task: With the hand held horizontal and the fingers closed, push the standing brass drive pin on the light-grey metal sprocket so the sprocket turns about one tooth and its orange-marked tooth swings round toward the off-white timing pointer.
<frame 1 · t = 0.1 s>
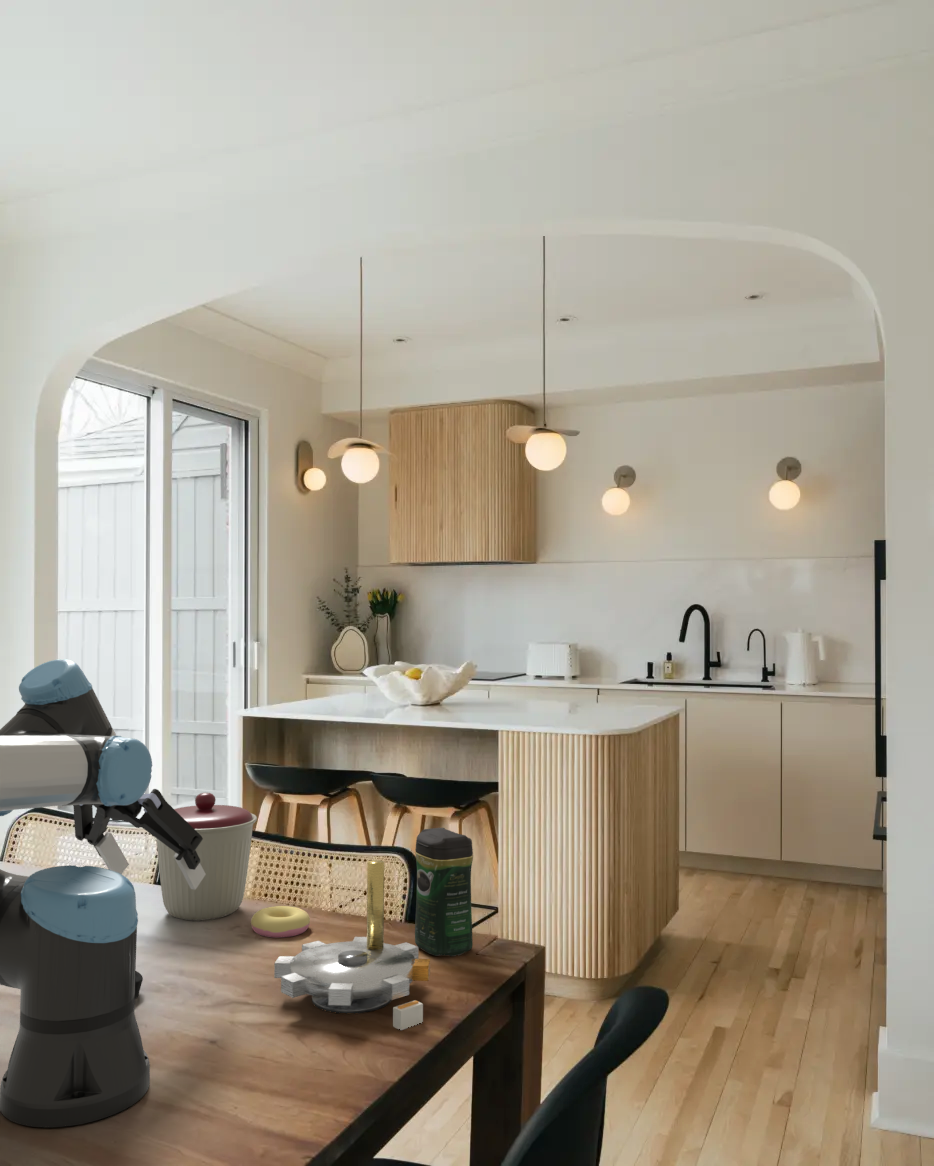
hand: (159, 876, 139), 15 cm above the table, tool tilted 35°, fingers open, 13 cm apart
sprocket: (353, 924, 135), point 10 cm above the table, hinge at 0.0°
pointer: (407, 1024, 126), on the table
coffee jar: (443, 949, 156), on the table
donut: (280, 932, 165), on the table
canister: (203, 913, 175), on the table
caster wheel: (95, 1001, 134), on the table
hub: (352, 998, 135), on the table
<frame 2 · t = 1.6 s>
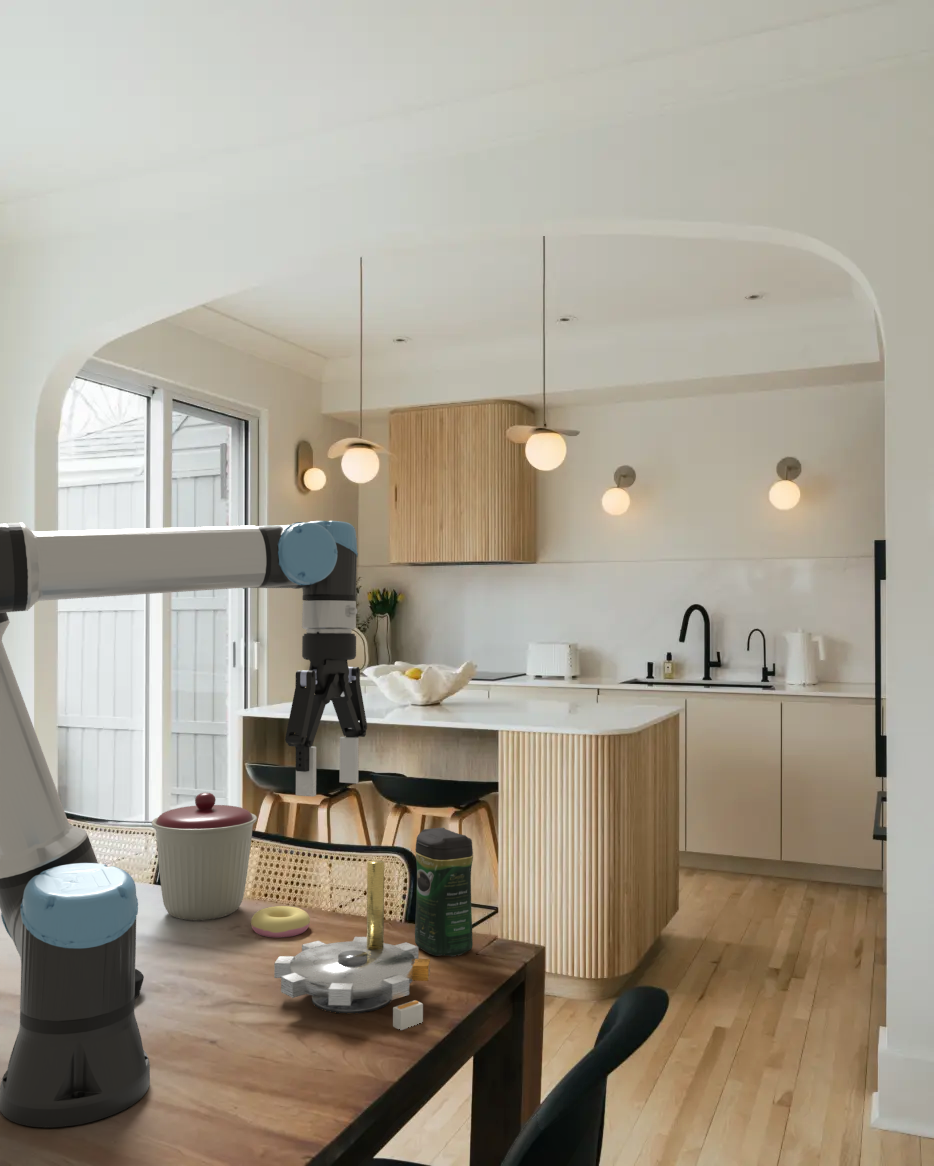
hand: (328, 788, 138), 28 cm above the table, tool pointing down, fingers open, 11 cm apart
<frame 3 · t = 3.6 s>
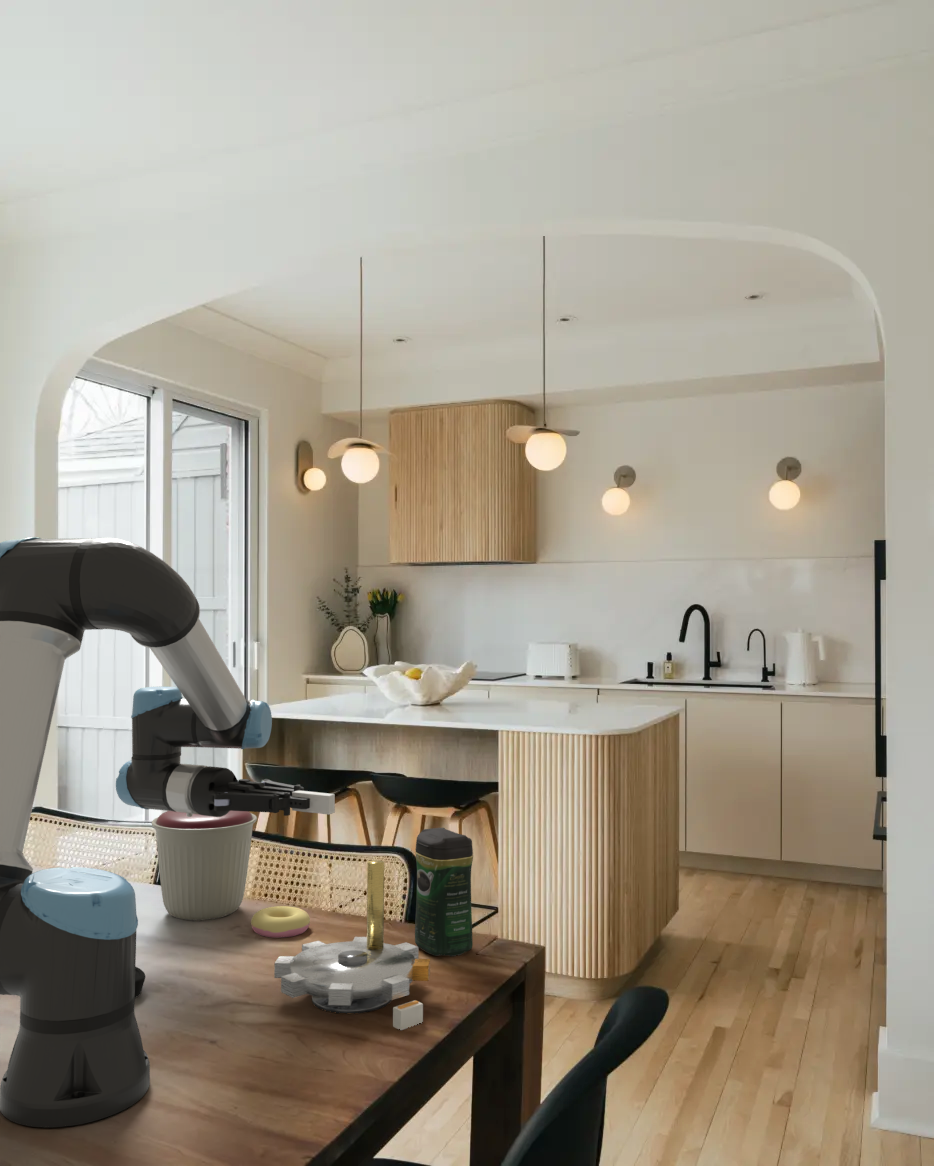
hand: (331, 804, 144), 25 cm above the table, tool horizontal, fingers closed
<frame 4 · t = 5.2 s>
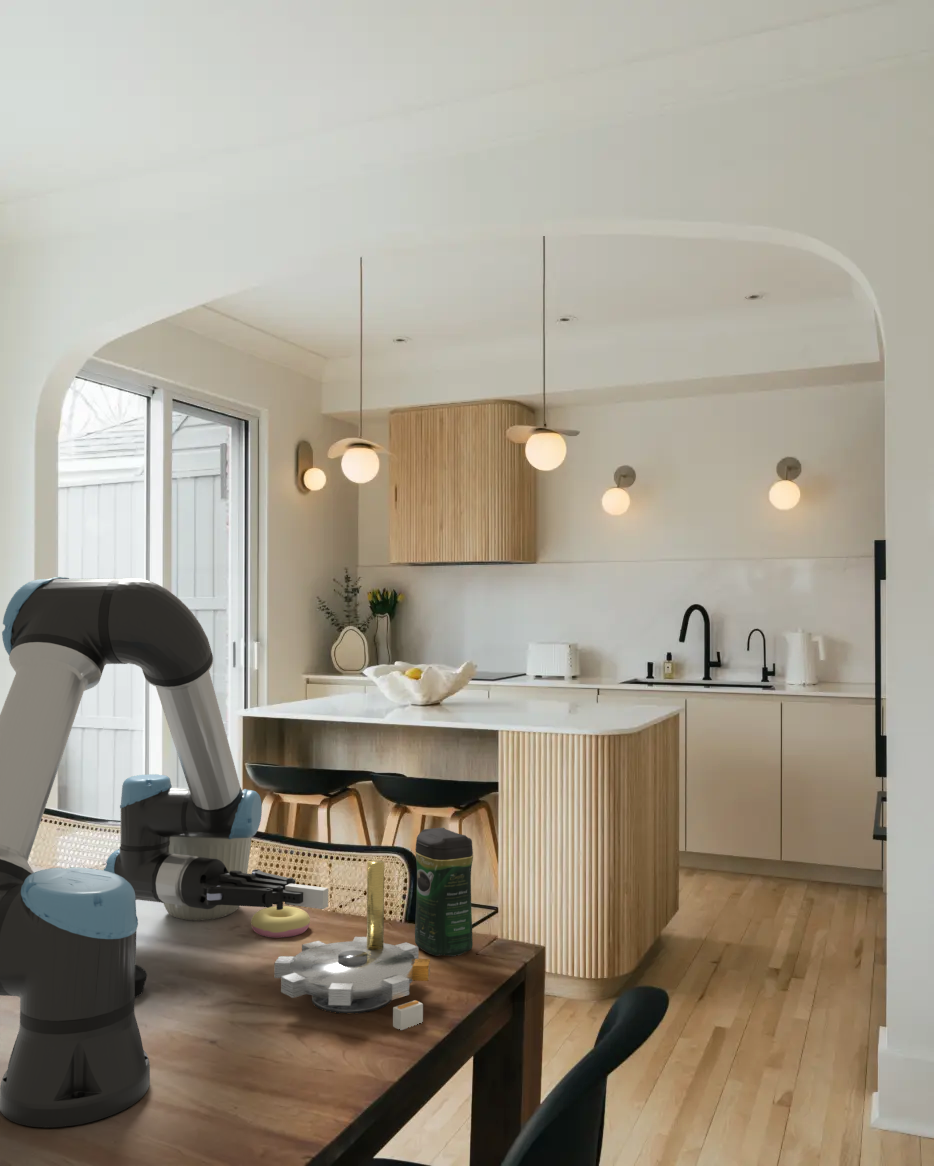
hand: (325, 898, 144), 11 cm above the table, tool horizontal, fingers closed
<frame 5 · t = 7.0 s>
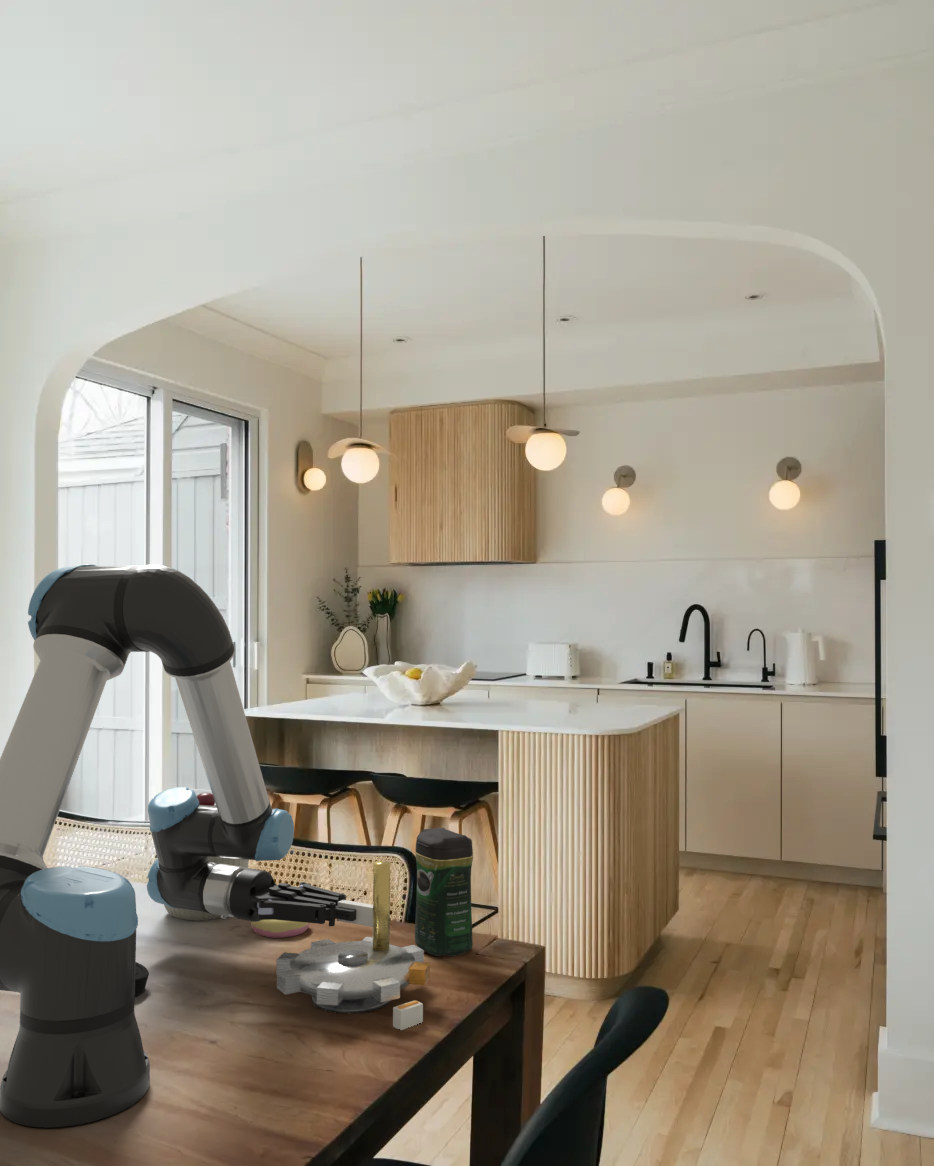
hand: (379, 916, 143), 9 cm above the table, tool horizontal, fingers closed
sprocket: (353, 924, 135), point 10 cm above the table, hinge at -8.8°, touching gripper
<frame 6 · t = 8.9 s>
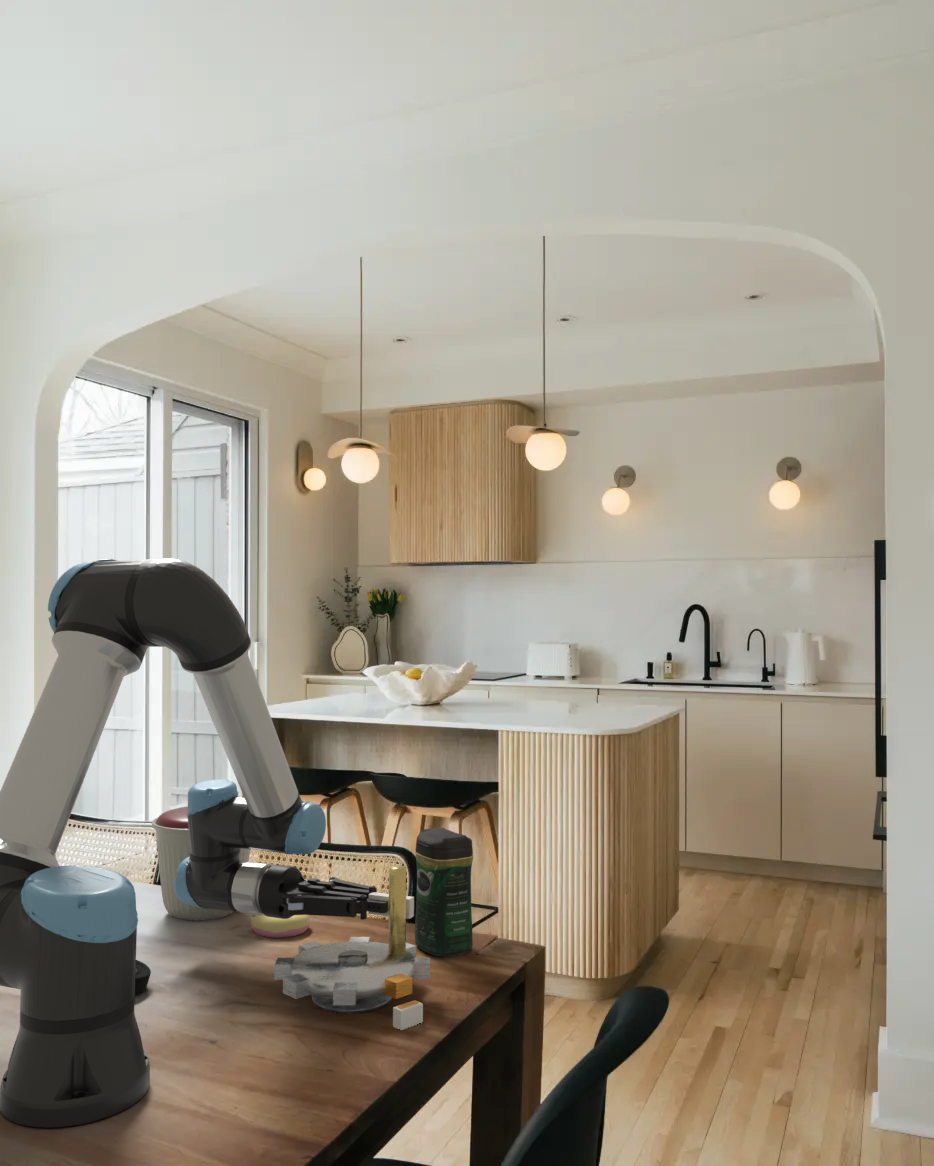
hand: (411, 907, 139), 11 cm above the table, tool horizontal, fingers closed
sprocket: (353, 924, 135), point 10 cm above the table, hinge at -41.7°, touching gripper
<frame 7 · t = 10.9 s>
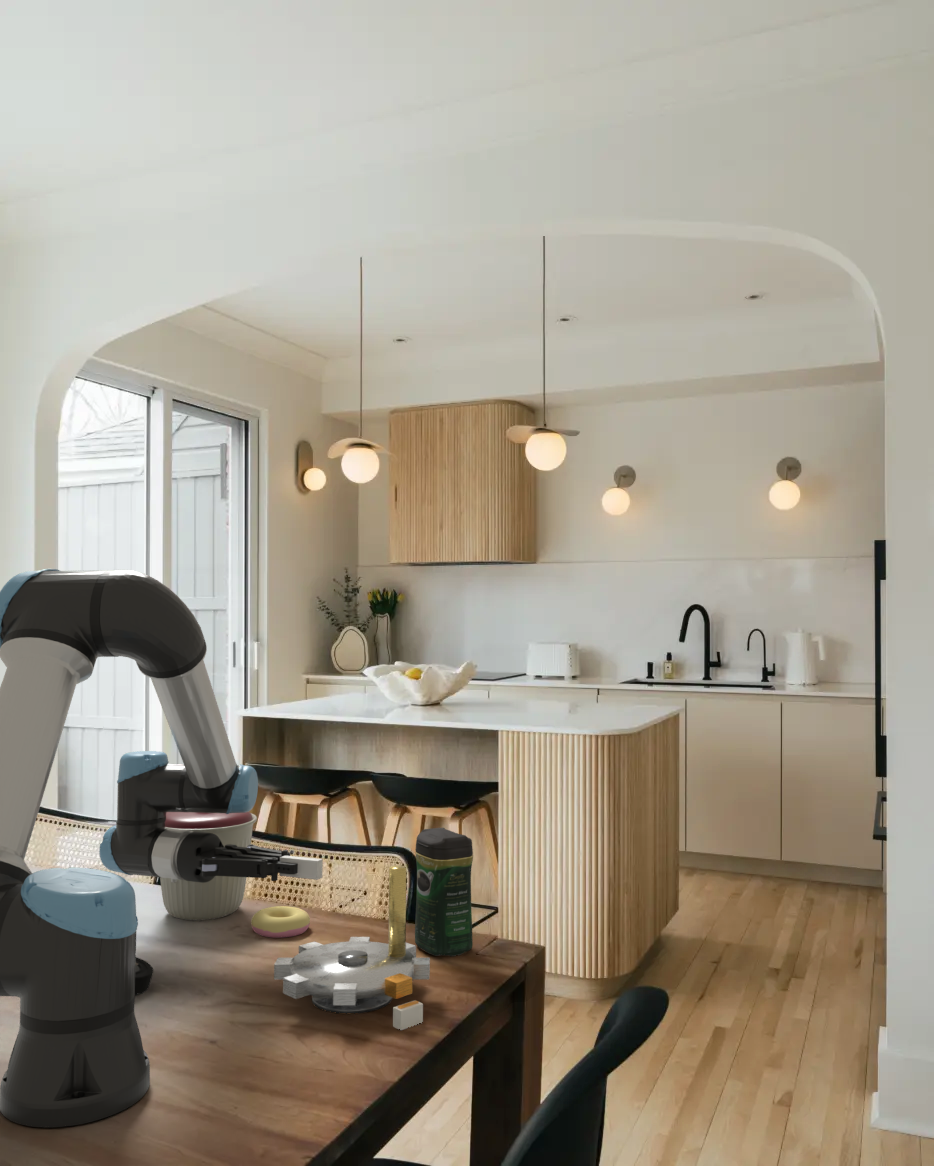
hand: (319, 869, 145), 15 cm above the table, tool horizontal, fingers closed
sprocket: (353, 924, 135), point 10 cm above the table, hinge at -41.7°
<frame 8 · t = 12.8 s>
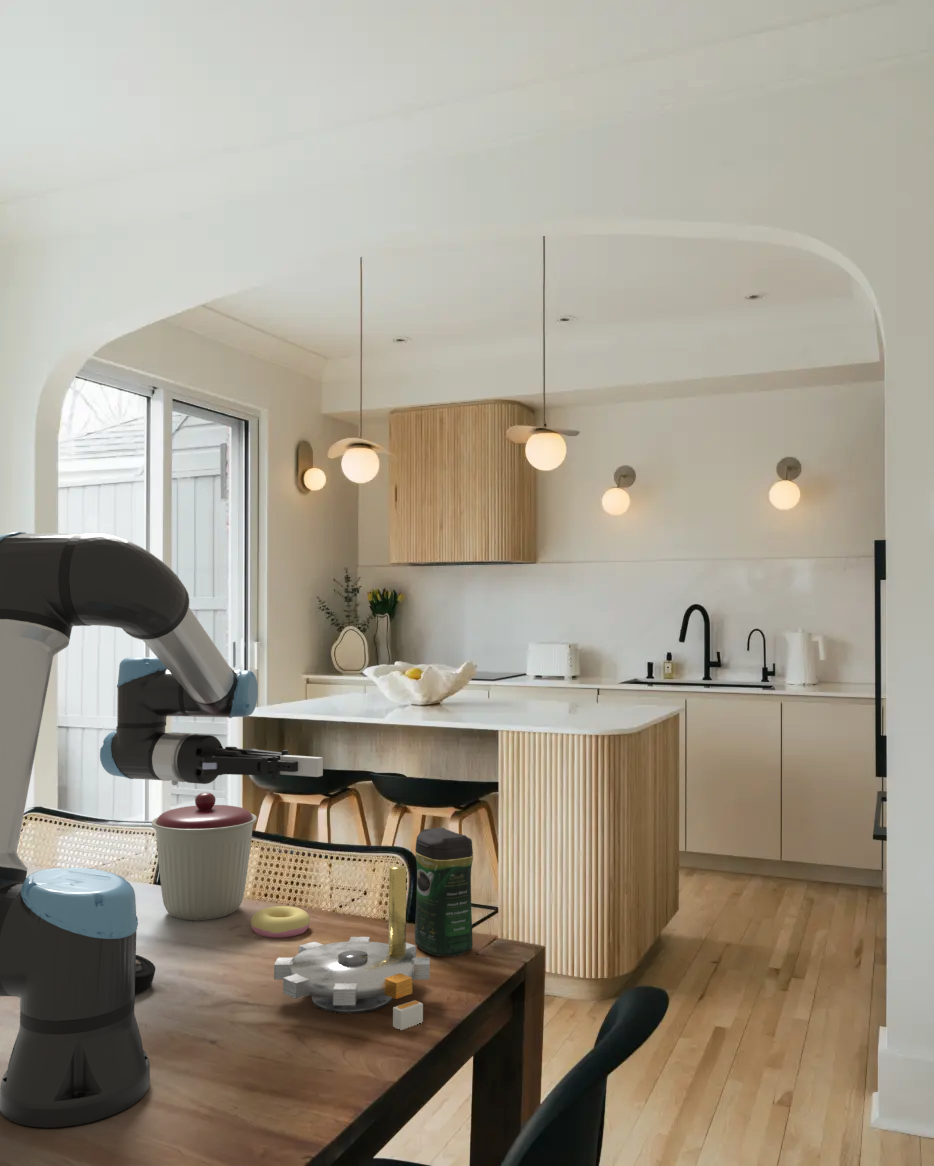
hand: (320, 767, 146), 30 cm above the table, tool horizontal, fingers closed
at the end: sprocket at -42° (first picture: +0°); coffee jar moved 0.2 cm from its start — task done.
